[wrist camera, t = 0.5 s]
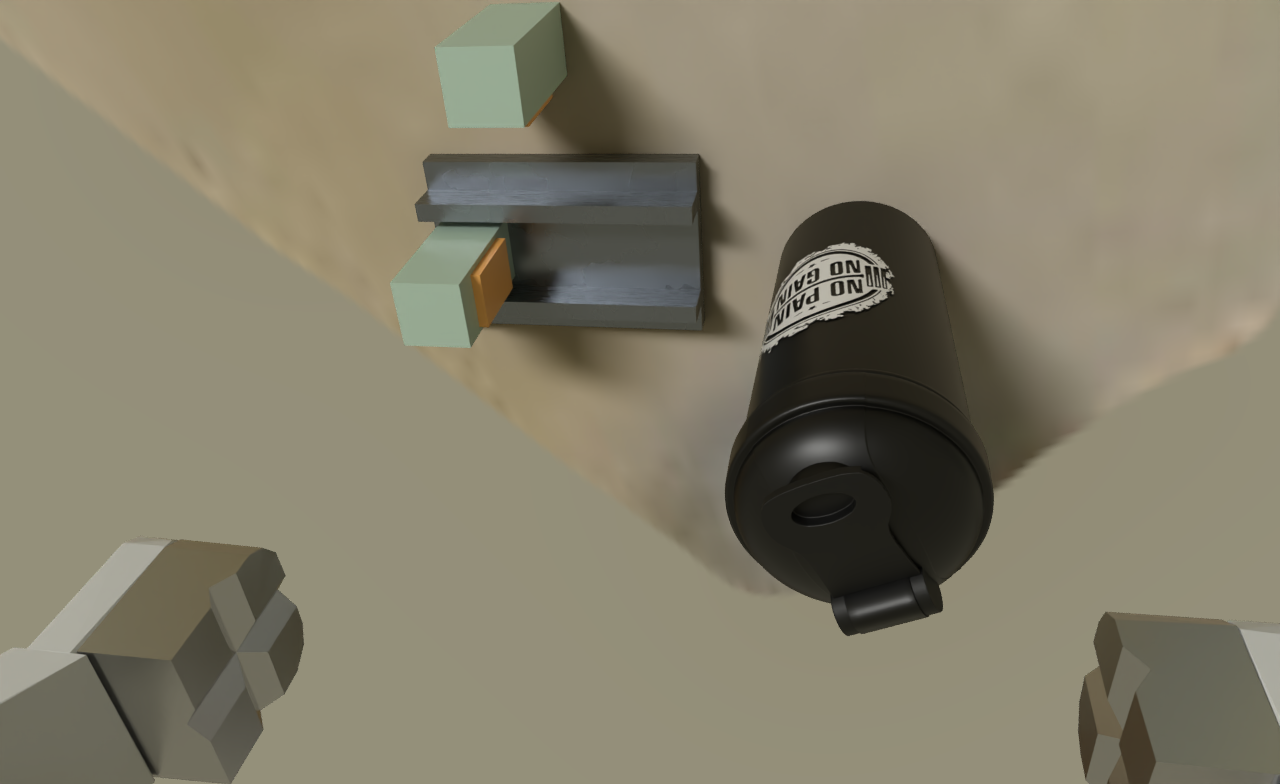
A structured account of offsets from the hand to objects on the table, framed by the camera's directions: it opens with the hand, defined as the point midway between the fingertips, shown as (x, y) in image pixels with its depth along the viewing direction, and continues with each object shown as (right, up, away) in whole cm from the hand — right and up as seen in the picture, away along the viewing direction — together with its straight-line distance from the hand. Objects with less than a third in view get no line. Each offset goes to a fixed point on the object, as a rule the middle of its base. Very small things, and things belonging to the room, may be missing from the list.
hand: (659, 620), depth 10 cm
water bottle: (+12, +9, +45) cm, 47 cm away
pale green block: (-6, +20, +41) cm, 46 cm away
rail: (-4, +11, +46) cm, 48 cm away
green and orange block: (-9, +11, +46) cm, 49 cm away
